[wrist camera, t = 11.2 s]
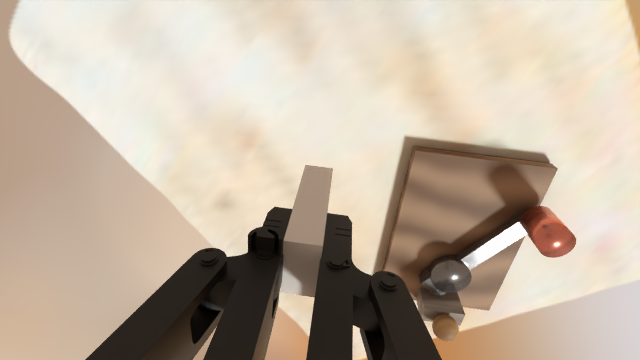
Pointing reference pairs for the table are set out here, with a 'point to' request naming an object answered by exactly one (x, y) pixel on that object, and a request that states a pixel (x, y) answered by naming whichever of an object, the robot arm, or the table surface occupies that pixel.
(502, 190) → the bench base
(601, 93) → the table surface
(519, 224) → the lever
